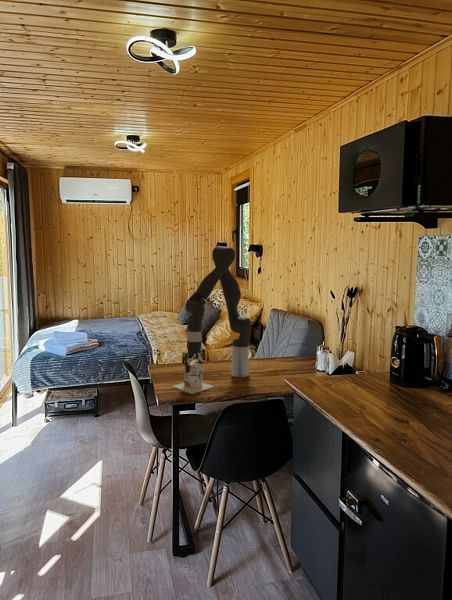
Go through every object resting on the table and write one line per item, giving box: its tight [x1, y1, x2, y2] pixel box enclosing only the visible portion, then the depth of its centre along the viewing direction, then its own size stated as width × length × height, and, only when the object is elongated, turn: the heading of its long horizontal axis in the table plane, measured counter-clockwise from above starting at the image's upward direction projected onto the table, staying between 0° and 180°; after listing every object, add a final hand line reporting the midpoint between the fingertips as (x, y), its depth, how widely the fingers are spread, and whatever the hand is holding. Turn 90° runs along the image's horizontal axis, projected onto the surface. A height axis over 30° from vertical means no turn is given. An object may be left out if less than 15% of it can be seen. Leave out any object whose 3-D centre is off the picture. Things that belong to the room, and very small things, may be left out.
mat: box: [171, 382, 215, 395], centre depth 239 cm, size 16×15×1 cm
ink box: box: [183, 361, 204, 389], centre depth 238 cm, size 9×5×12 cm, turn 57°
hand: (193, 370), depth 238 cm, fingers open, 8 cm apart
